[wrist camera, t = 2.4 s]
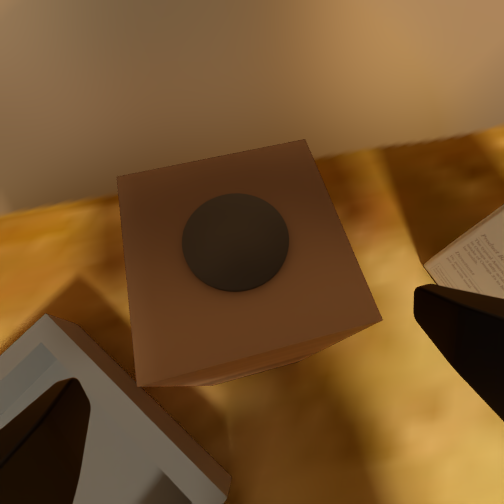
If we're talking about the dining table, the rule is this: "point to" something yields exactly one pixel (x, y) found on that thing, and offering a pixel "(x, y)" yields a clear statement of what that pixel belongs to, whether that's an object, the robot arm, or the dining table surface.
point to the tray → (110, 422)
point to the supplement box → (474, 259)
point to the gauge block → (236, 267)
